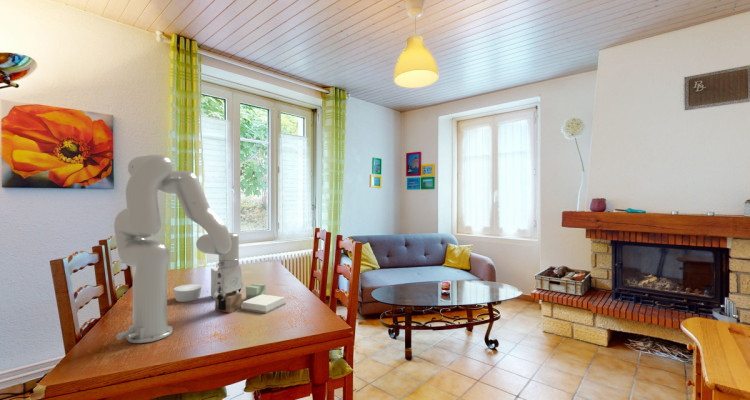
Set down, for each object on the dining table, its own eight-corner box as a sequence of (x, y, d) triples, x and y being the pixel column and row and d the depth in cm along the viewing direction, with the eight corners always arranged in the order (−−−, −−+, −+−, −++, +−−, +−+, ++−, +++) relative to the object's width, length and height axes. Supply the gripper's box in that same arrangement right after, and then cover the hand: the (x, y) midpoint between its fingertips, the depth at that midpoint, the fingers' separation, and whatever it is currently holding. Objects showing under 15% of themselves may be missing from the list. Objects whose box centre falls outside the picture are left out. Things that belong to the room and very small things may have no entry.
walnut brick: (230, 312, 135) (230, 297, 135) (215, 310, 138) (215, 295, 138) (241, 308, 141) (241, 293, 141) (226, 305, 144) (226, 291, 144)
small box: (230, 297, 156) (230, 269, 156) (215, 300, 152) (215, 270, 152) (225, 293, 162) (225, 266, 162) (210, 295, 158) (210, 267, 158)
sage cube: (256, 301, 151) (256, 287, 151) (246, 299, 153) (245, 286, 153) (265, 297, 156) (265, 284, 156) (255, 296, 159) (255, 283, 158)
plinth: (266, 313, 135) (266, 306, 135) (240, 309, 140) (240, 302, 140) (285, 304, 147) (285, 297, 147) (261, 300, 151) (261, 293, 151)
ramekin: (193, 303, 148) (193, 290, 148) (167, 302, 148) (167, 290, 148) (206, 295, 159) (206, 284, 159) (182, 295, 160) (182, 283, 159)
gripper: (218, 268, 130) (218, 315, 130) (250, 260, 146) (250, 302, 146) (204, 266, 133) (204, 312, 133) (237, 259, 149) (237, 300, 149)
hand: (228, 307), depth 140 cm, fingers closed on walnut brick, 6 cm apart
